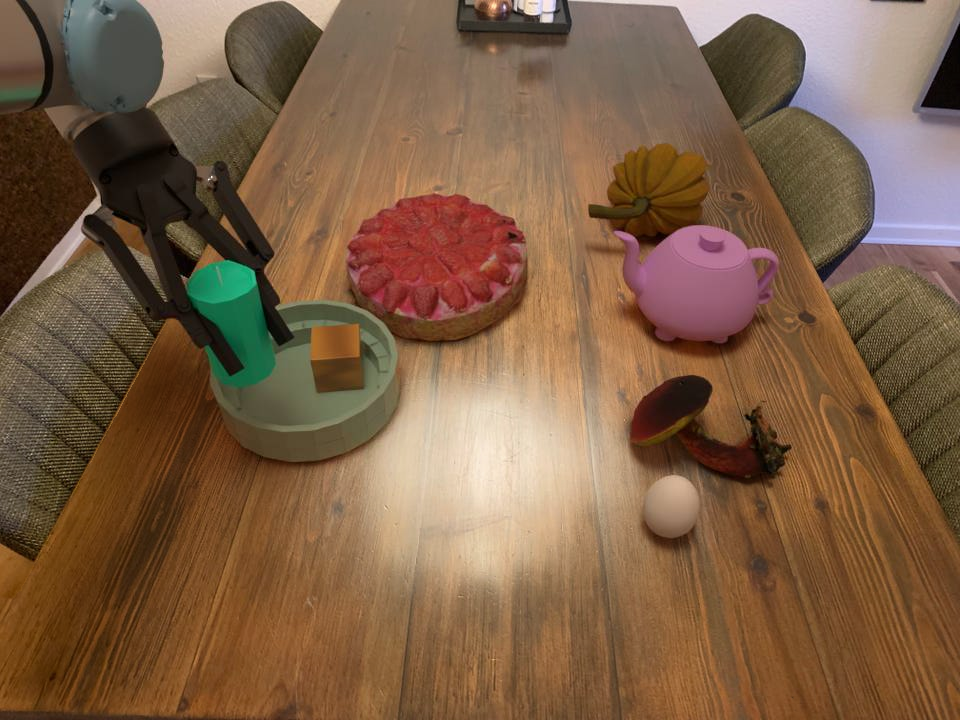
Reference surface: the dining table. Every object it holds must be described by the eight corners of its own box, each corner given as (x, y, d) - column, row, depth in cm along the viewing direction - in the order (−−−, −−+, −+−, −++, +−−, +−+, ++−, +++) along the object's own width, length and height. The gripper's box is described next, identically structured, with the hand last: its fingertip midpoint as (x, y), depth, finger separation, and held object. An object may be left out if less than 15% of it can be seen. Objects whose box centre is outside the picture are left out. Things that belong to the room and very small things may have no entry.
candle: (248, 396, 67) (219, 298, 58) (199, 373, 68) (164, 275, 60) (289, 356, 70) (267, 259, 62) (241, 336, 72) (214, 238, 64)
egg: (650, 495, 75) (666, 451, 70) (697, 521, 73) (717, 478, 68) (627, 531, 72) (641, 488, 67) (676, 559, 70) (695, 517, 65)
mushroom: (712, 482, 86) (636, 386, 86) (804, 440, 79) (720, 334, 78) (686, 542, 77) (600, 434, 77) (788, 502, 69) (692, 381, 69)
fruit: (703, 221, 115) (700, 260, 98) (604, 214, 119) (584, 250, 102) (715, 133, 109) (714, 157, 92) (610, 129, 113) (590, 152, 96)
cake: (491, 209, 110) (491, 165, 104) (557, 317, 95) (561, 273, 89) (334, 247, 105) (324, 202, 99) (376, 368, 89) (367, 324, 83)
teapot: (602, 354, 90) (621, 268, 80) (593, 277, 101) (608, 193, 91) (776, 361, 90) (815, 276, 80) (747, 284, 101) (779, 200, 91)
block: (316, 393, 83) (309, 360, 79) (317, 359, 87) (311, 326, 83) (364, 389, 84) (359, 356, 80) (363, 356, 88) (359, 323, 84)
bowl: (253, 495, 74) (241, 461, 70) (202, 369, 86) (189, 333, 82) (430, 422, 81) (429, 387, 77) (359, 316, 94) (354, 280, 90)
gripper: (193, 112, 69) (324, 318, 73) (3, 181, 59) (166, 414, 63) (211, 74, 62) (353, 302, 66) (3, 144, 53) (183, 406, 57)
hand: (262, 356), depth 65 cm, fingers closed on candle, 5 cm apart
